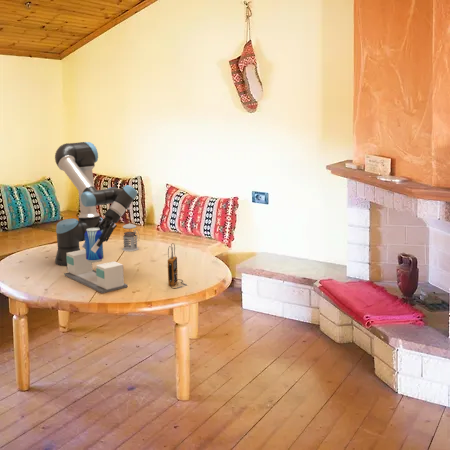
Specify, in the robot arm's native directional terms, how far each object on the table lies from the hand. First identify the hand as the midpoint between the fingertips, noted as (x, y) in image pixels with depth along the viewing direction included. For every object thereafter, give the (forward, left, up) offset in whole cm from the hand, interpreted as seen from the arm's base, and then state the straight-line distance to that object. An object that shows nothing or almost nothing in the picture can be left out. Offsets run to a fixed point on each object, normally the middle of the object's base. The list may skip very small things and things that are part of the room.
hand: (88, 249), depth 317 cm
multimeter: (+12, +43, -17) cm, 48 cm away
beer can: (-2, +3, -6) cm, 7 cm away
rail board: (-2, +2, -17) cm, 17 cm away
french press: (-60, +23, -17) cm, 67 cm away
